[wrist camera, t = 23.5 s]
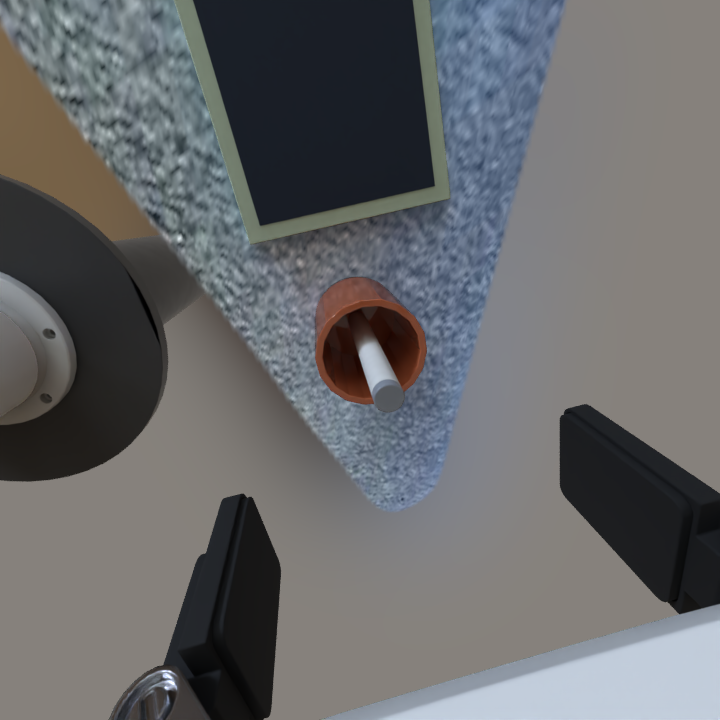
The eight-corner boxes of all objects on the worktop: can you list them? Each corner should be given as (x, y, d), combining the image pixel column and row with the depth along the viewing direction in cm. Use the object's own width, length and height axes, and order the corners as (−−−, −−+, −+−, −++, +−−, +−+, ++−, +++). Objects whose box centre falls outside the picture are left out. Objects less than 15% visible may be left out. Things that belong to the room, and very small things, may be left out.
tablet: (252, 243, 26) (249, 245, 25) (141, -114, 19) (132, -132, 18) (446, 199, 26) (451, 198, 25) (405, -167, 20) (410, -187, 19)
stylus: (350, 331, 29) (377, 416, 17) (346, 313, 28) (370, 388, 16) (367, 326, 29) (407, 408, 17) (364, 309, 28) (402, 381, 16)
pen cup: (326, 365, 30) (331, 415, 23) (305, 287, 27) (302, 314, 20) (403, 347, 30) (433, 390, 23) (389, 267, 28) (417, 287, 20)
